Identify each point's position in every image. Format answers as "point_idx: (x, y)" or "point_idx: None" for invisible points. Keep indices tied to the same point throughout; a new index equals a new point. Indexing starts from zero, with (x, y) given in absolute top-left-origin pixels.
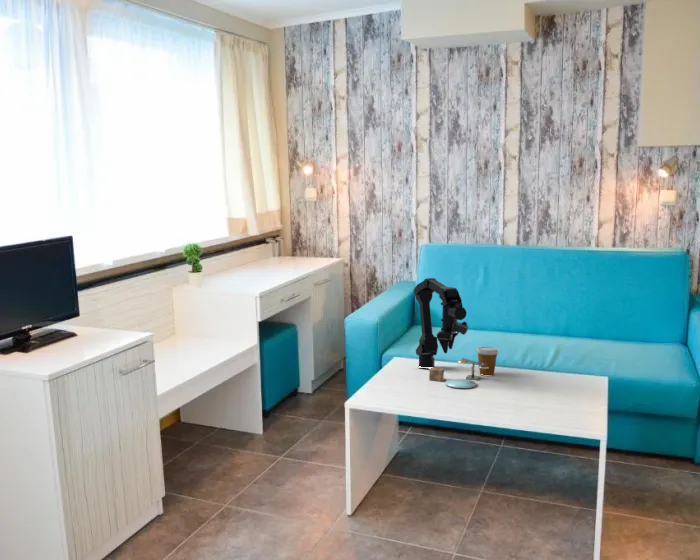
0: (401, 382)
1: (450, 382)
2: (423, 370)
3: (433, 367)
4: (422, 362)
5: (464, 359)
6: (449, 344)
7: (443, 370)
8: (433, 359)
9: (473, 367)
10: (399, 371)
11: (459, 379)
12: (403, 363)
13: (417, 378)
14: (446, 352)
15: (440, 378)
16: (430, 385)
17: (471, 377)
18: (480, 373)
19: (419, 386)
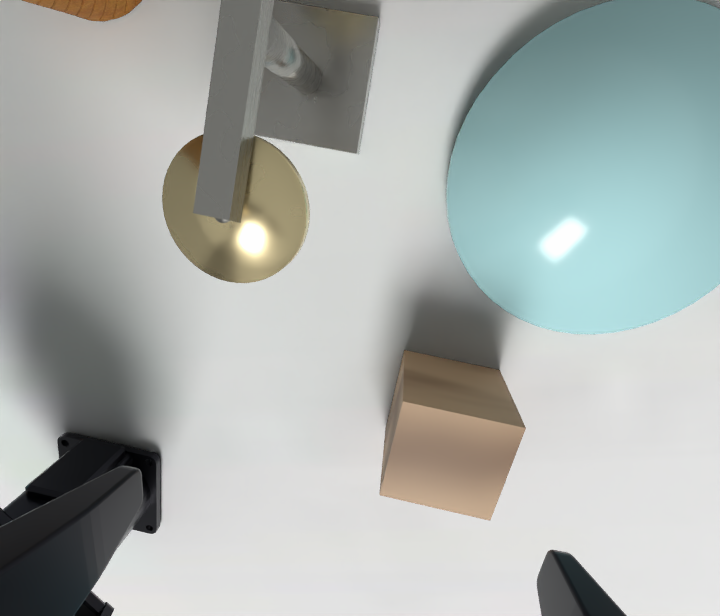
0: None
1: (603, 288)
2: (193, 492)
3: (389, 490)
4: (122, 540)
5: (238, 180)
6: (68, 589)
7: (411, 391)
8: (60, 489)
9: (291, 37)
10: (275, 613)
11: (472, 210)
12: None
13: (426, 520)
14: (583, 573)
15: (501, 383)
16: (627, 434)
17: (343, 90)
18: (125, 5)
19: (664, 503)
